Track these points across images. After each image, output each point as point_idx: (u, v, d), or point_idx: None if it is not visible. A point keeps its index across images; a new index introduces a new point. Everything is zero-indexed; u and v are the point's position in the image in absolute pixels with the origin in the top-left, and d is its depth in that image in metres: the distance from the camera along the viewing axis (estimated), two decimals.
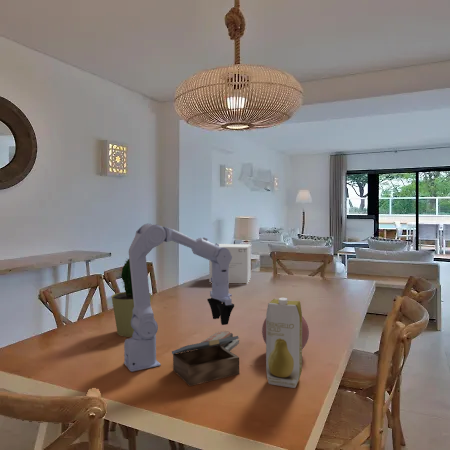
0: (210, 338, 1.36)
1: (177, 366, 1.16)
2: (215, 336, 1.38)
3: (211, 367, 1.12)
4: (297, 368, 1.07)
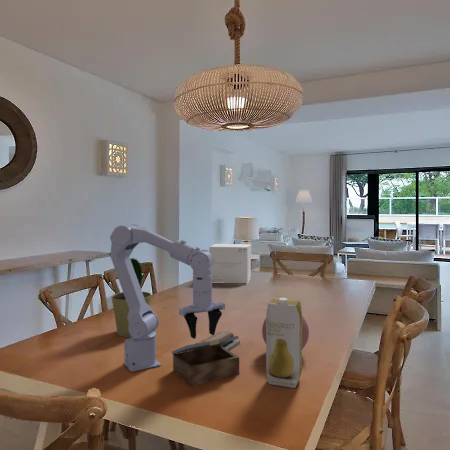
0: (209, 338, 1.37)
1: (177, 366, 1.16)
2: (215, 336, 1.39)
3: (211, 367, 1.12)
4: (297, 368, 1.07)
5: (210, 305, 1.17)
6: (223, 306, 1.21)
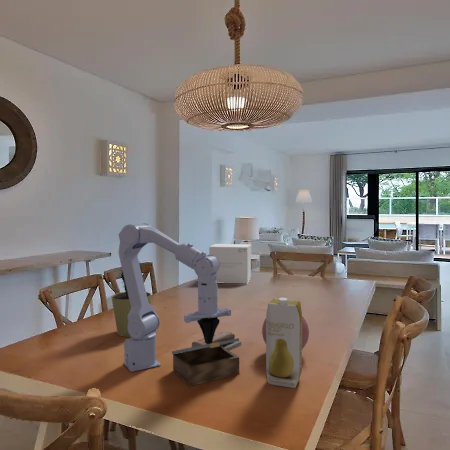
0: None
1: (177, 366, 1.16)
2: (214, 335, 1.39)
3: (211, 367, 1.12)
4: (297, 368, 1.07)
5: (216, 311, 1.14)
6: (229, 312, 1.18)
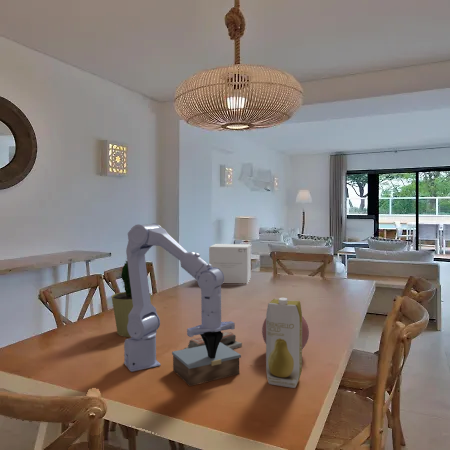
0: None
1: (177, 366, 1.16)
2: None
3: (211, 367, 1.12)
4: (297, 368, 1.07)
5: (219, 325, 1.13)
6: (233, 325, 1.17)
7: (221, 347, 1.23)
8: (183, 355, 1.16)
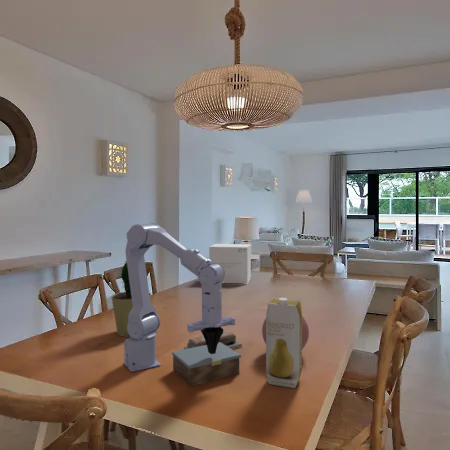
0: None
1: (177, 366, 1.16)
2: None
3: (211, 367, 1.12)
4: (297, 368, 1.07)
5: (220, 321, 1.12)
6: (233, 321, 1.16)
7: (221, 347, 1.23)
8: (183, 355, 1.16)
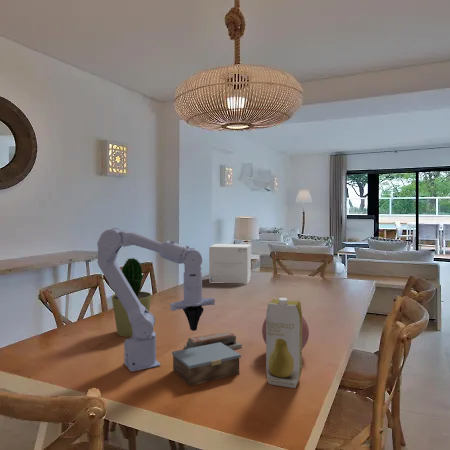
0: (207, 335, 1.39)
1: (177, 366, 1.16)
2: (214, 335, 1.40)
3: (211, 367, 1.12)
4: (297, 368, 1.07)
5: (200, 300, 1.24)
6: (213, 301, 1.27)
7: (221, 347, 1.23)
8: (183, 355, 1.16)
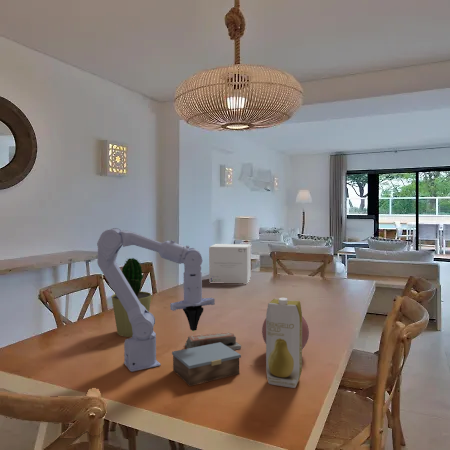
0: (207, 335, 1.40)
1: (177, 366, 1.16)
2: (214, 334, 1.40)
3: (211, 367, 1.12)
4: (297, 368, 1.07)
5: (200, 300, 1.24)
6: (213, 301, 1.27)
7: (221, 347, 1.23)
8: (183, 355, 1.16)
